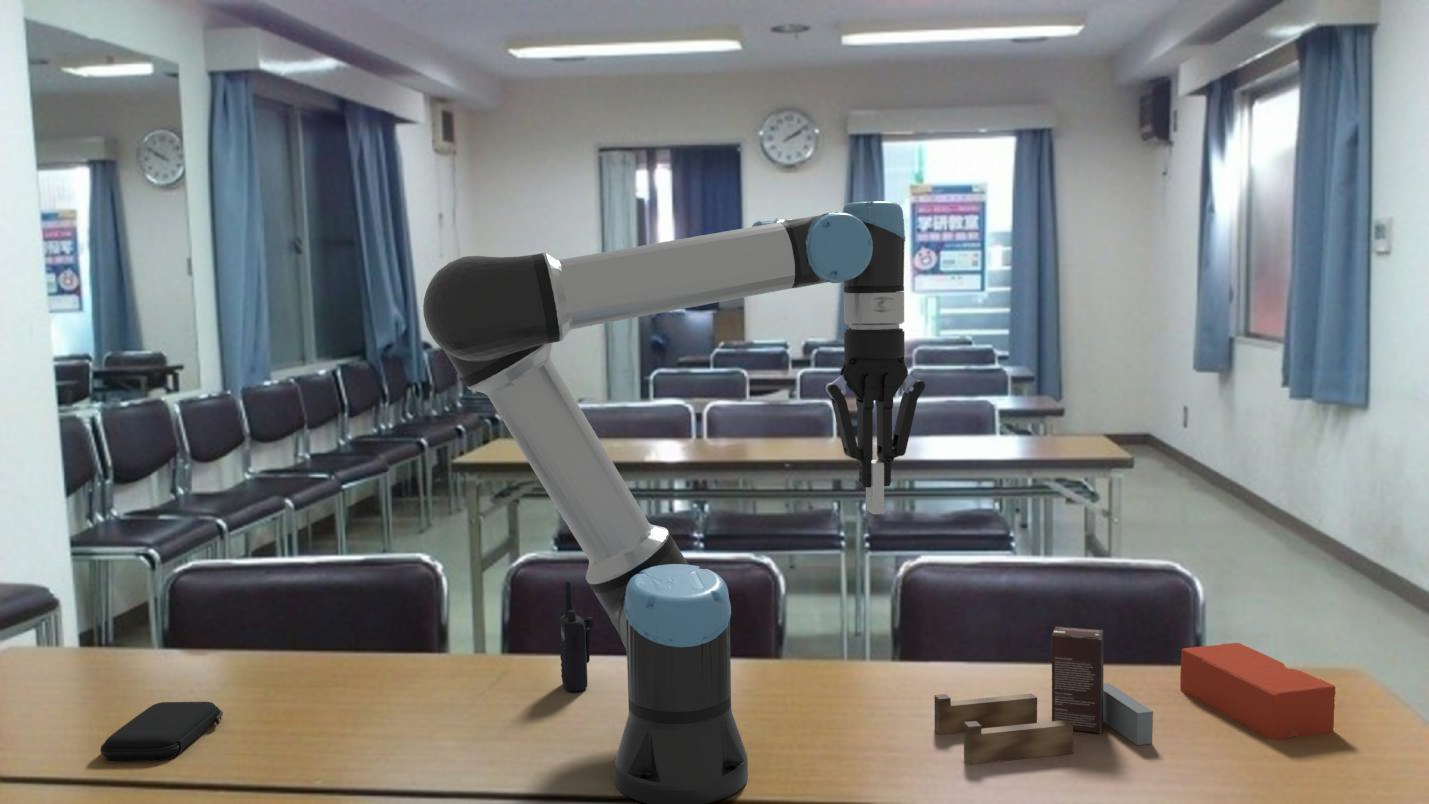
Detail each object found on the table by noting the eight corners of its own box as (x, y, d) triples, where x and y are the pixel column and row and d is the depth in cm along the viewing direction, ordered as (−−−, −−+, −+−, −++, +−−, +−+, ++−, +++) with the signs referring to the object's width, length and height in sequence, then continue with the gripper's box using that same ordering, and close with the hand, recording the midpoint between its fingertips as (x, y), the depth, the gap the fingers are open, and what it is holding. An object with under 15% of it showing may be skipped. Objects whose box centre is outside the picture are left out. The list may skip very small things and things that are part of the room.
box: (1103, 721, 148) (1104, 628, 147) (1100, 735, 144) (1102, 639, 143) (1053, 716, 150) (1054, 624, 149) (1049, 728, 146) (1050, 634, 145)
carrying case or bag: (181, 765, 141) (234, 719, 156) (180, 741, 141) (233, 697, 156) (94, 766, 142) (155, 720, 156) (92, 742, 141) (153, 697, 156)
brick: (1178, 691, 159) (1180, 648, 158) (1236, 684, 161) (1237, 641, 160) (1271, 742, 142) (1273, 693, 141) (1335, 733, 144) (1337, 686, 143)
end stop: (1137, 745, 141) (1137, 713, 140) (1094, 714, 150) (1094, 684, 150) (1152, 743, 141) (1152, 711, 141) (1108, 713, 151) (1109, 683, 150)
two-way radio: (559, 682, 167) (555, 578, 165) (590, 678, 168) (587, 575, 166) (566, 695, 161) (562, 588, 160) (598, 691, 163) (595, 585, 161)
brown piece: (969, 764, 136) (969, 726, 136) (934, 729, 147) (934, 694, 146) (1072, 753, 139) (1073, 716, 138) (1031, 720, 149) (1031, 685, 149)
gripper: (832, 329, 143) (834, 521, 145) (934, 326, 145) (934, 514, 148) (815, 327, 150) (817, 509, 153) (912, 324, 153) (913, 503, 155)
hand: (875, 511), depth 150 cm, fingers closed
